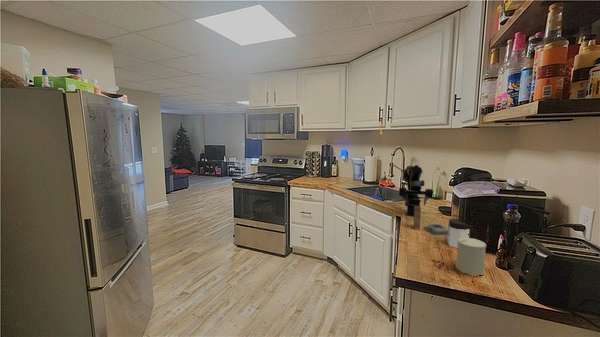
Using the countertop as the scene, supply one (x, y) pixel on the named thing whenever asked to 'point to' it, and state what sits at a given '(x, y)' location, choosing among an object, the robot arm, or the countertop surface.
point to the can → (470, 256)
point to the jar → (456, 232)
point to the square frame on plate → (436, 229)
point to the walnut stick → (417, 217)
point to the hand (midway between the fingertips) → (416, 204)
